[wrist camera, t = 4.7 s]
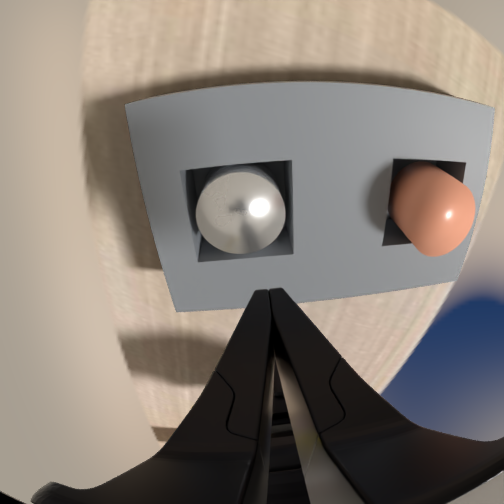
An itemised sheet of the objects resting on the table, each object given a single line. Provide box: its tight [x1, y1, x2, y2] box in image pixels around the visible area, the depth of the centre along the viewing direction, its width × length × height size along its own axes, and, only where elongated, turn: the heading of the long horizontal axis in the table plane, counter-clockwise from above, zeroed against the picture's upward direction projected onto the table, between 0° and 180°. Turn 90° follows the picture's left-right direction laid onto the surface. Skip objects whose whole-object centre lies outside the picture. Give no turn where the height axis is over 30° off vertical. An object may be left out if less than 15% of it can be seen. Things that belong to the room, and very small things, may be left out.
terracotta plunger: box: [388, 161, 475, 257], centre depth 14 cm, size 4×4×3 cm
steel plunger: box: [196, 162, 285, 254], centre depth 15 cm, size 4×4×3 cm
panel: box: [125, 81, 495, 312], centre depth 16 cm, size 12×19×4 cm, turn 94°
